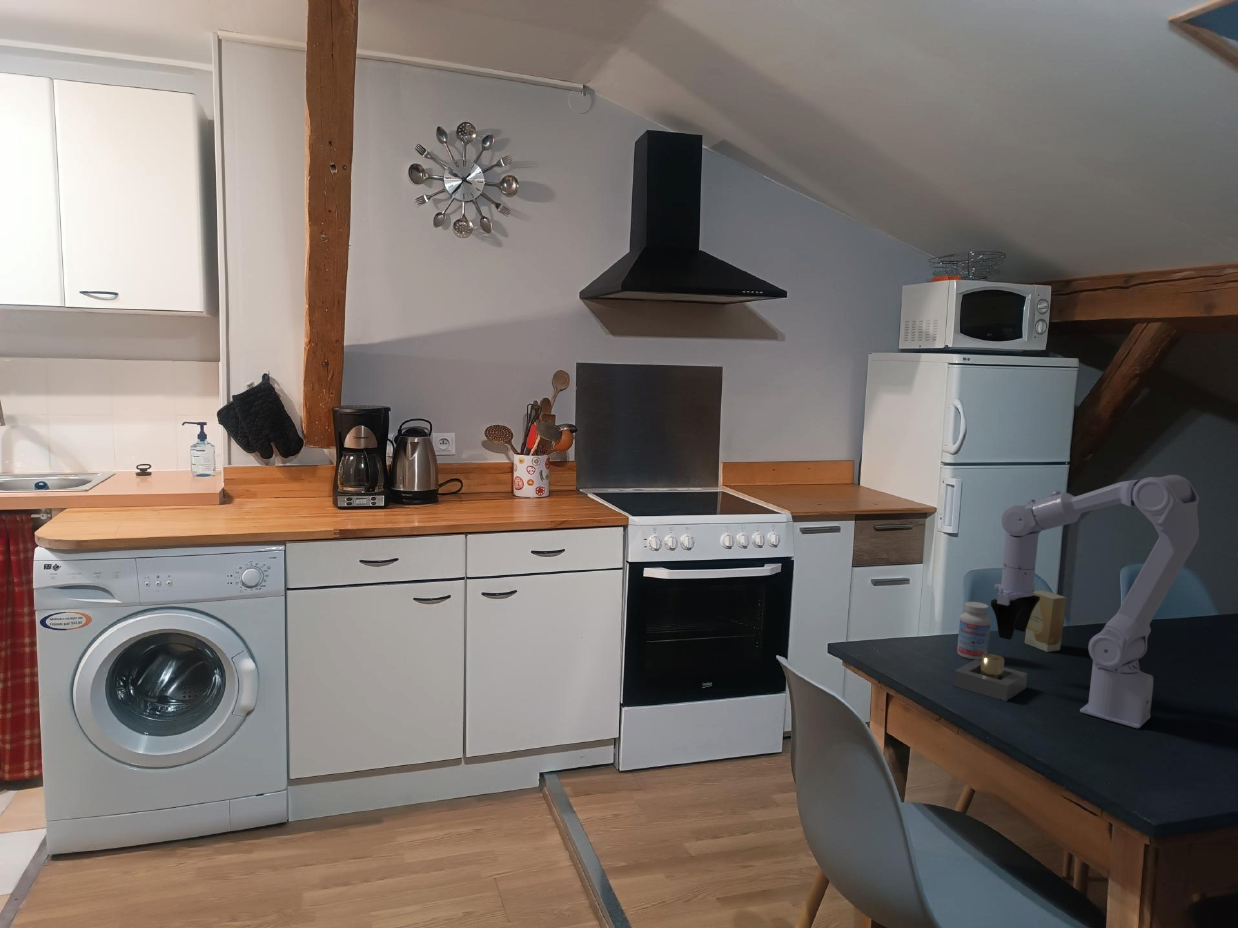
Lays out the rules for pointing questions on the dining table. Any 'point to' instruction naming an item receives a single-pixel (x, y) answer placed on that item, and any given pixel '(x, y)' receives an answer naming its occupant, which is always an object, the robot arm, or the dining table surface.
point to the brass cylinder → (992, 666)
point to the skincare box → (1046, 622)
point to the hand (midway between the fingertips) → (1012, 634)
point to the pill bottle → (974, 631)
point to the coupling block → (990, 681)
